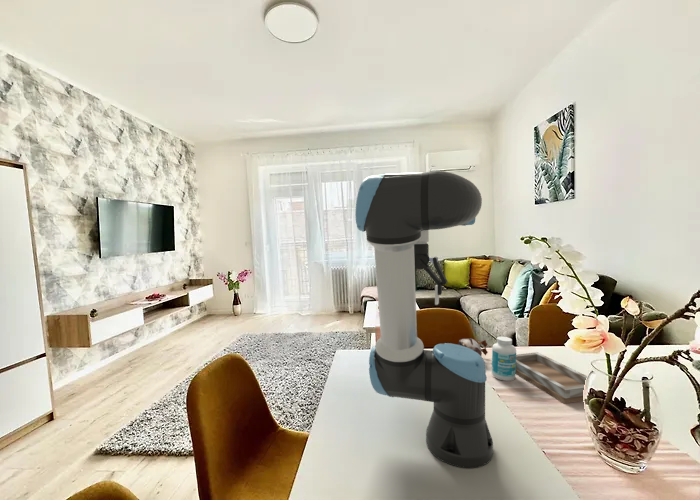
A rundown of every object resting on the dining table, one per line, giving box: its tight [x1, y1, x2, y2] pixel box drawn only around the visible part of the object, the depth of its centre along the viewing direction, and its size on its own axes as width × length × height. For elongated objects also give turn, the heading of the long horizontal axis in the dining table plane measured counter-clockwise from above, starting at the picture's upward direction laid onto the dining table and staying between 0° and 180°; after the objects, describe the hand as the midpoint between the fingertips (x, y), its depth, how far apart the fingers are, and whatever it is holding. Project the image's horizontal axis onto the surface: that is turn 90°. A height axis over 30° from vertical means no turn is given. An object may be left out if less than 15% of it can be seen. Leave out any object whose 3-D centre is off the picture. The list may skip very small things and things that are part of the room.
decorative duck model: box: [458, 337, 489, 357], centre depth 127 cm, size 15×8×15 cm
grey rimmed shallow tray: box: [515, 351, 588, 404], centre depth 109 cm, size 26×15×4 cm, turn 12°
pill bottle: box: [491, 336, 517, 382], centre depth 112 cm, size 8×7×14 cm
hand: (417, 302), depth 116 cm, fingers open, 13 cm apart
